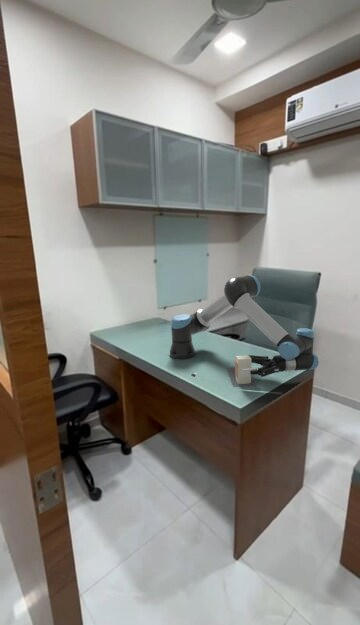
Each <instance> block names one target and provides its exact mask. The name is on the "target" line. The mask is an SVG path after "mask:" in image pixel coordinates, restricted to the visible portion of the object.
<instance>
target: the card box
mask: <svg viewBox="0 0 360 625" xmlns="http://www.w3.org/2000/svg"><path fill="white" fill-rule="evenodd" d="M249 355H250V354H246V355H245V354H244V355H235V358H236V360H235V363H234V367H235V375H236V381H237V383H238V384H248V383H251V375H244V376H243V375H242V369H251V368H252V363H251V358H250V356H249Z"/></svg>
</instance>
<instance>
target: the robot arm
mask: <svg viewBox="0 0 360 625" xmlns="http://www.w3.org/2000/svg"><path fill="white" fill-rule="evenodd" d="M223 288H224V290H223V291H224V292H223V293H222V294H221V295H220V296H219V297H218V298H217V299H215V300H213V301H212V302H211V303H210V304H209V305H207V306H206V307H205V308H200V309H198V310H197V311H196V312H194V313H192V314H189V313H182V314H177V315H174V316H173V317H172V318H171V319H170V320H171V323H170V327H171V345H170V349H169V356H170V357H171V358H173V359H178V360H185V359H186V360H187V359H191V358H193V357H195V356H196V350H195V346H194V344H193V338H192V337H193V335H196V334H199V333H202V332H205V331H207V330H209V329H210V327H211V326H212V324H213V321H215V320H216V319H218V318H219V317H220V316H222V315H223V314H225V313H226V312H227V311H229V310H231V309H232V308H234V309H236V310H237V309H238V310H239V311H240V312H241V313H242V314H243V315H245V317H246V318H247V319H248V320H250V321H251V323H252V324H253V325H255V326H256V328H258V329H259V330H260V331H261V332H262V333H263V334H264V335H265V336H266V337H267V338H268V339H269V340H270V341H271V342H272V343H273V344H274V345H275V347H277V349H278V354H279V355H278V354H277V355H274V356H273V357H272V358H269V356H268V355H267V356H266V355H264V356H263V355H254V354H248V355H249V356H250V358H251V364H257V365H260V366H261V367H256V368H255V367H253V368H252V367H251V369H242V375H243V376H244V375H252V376H255V375H258V376H260V378H264V377H266V376H269V375H272V374H277V373H280V372H289V373H290V372H293V371H295V372H296V371H311V370H315V369H317V368H318V366H319V363H320V362H319V358H318V355H317V354H316V353H314V341H315V332H314V330H313V329H310V328H306V327H302V328H301V327H300V328H297V329H296V332H295V336H294V337H293V336H292V335H291V334H290V333H289V332H288V331H286V330H285V329H284V328H283V326H281V325H280V324H279V323H278V322H277V321H276V320H275V319H274V318H272V316H271V315H270V314H268V313H267V311H265V310H264V309H263V308H262V307H261V306H260V305H259V304H258V303H257V302H256V301H255V300H254V299H252V298H255V297H257V296H258V295H259V294H260V292H261V289H262V288H261V282H260V280H259V279H258V278H257V276H255V275H251V274H247V275H243V276H238V277H232V278H231V279H228V280H227V282H226V283H225V285H224V287H223ZM235 360H236V357H234V360H233V362H234V364H235Z"/></svg>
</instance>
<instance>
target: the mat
mask: <svg viewBox="0 0 360 625" xmlns="http://www.w3.org/2000/svg"><path fill="white" fill-rule="evenodd" d="M225 368H226V372H227V374H228V377H229V379H230V382H231V385H232V387H233V388H243V387H258V383H257V382H256V380H255V378H254V376H253V375H251V383H248V384H238V383H237V381H236V375H235V366H233V367H225Z"/></svg>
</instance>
